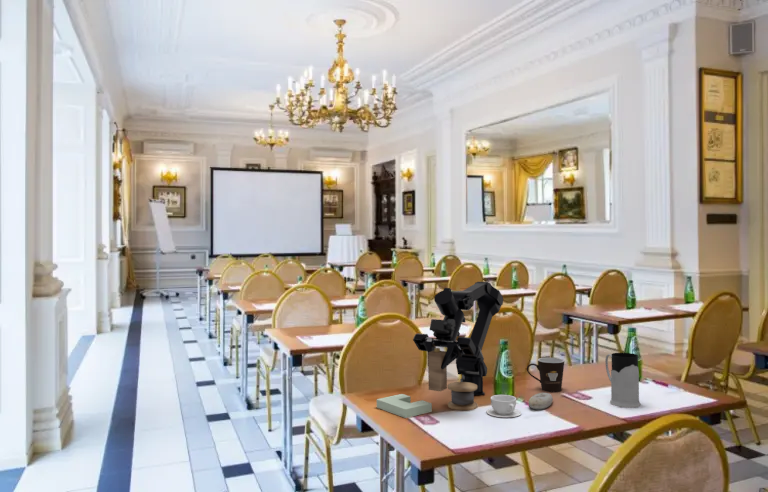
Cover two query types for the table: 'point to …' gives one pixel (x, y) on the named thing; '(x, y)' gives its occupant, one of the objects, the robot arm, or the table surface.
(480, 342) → the robot arm
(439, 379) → the tab block
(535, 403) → the decorative stone
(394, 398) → the notched board
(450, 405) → the spool
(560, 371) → the coffee mug
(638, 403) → the glass holder
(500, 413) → the teacup
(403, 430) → the table surface
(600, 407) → the table surface
